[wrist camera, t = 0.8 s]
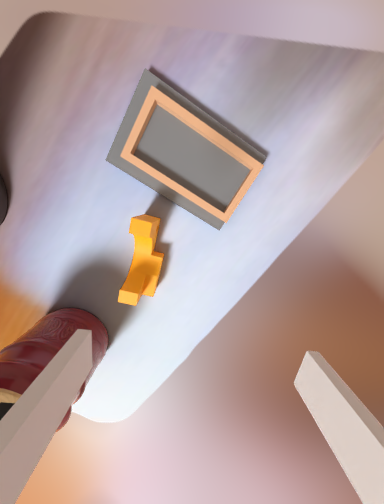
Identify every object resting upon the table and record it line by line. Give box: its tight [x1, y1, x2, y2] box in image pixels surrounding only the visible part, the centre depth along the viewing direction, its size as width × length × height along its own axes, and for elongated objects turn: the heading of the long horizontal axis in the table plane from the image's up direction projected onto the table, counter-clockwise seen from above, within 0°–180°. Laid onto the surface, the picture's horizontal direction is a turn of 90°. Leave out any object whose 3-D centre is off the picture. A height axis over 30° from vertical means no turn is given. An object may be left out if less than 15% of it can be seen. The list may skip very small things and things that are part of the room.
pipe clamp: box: [118, 214, 164, 306], centre depth 26 cm, size 12×4×6 cm, turn 165°
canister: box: [0, 308, 109, 432], centre depth 25 cm, size 13×13×18 cm
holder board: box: [106, 69, 267, 230], centre depth 24 cm, size 19×12×2 cm, turn 59°
